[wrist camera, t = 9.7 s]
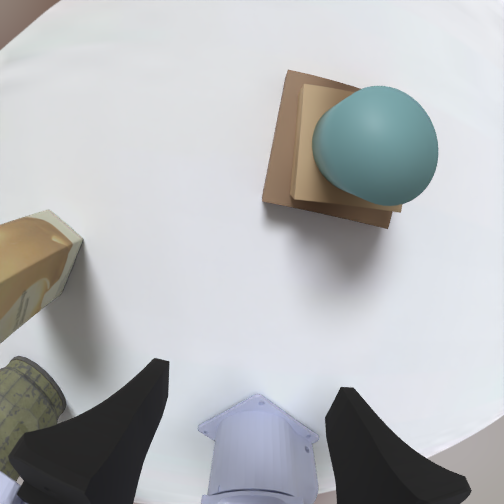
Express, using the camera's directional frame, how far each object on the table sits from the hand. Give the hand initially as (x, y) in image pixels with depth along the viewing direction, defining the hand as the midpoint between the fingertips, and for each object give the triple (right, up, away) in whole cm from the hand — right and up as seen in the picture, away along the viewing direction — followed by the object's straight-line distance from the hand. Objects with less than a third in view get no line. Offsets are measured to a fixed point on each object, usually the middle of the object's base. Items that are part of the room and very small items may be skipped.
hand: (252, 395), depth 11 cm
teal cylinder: (+5, +11, +3) cm, 13 cm away
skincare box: (-16, +6, +9) cm, 19 cm away
